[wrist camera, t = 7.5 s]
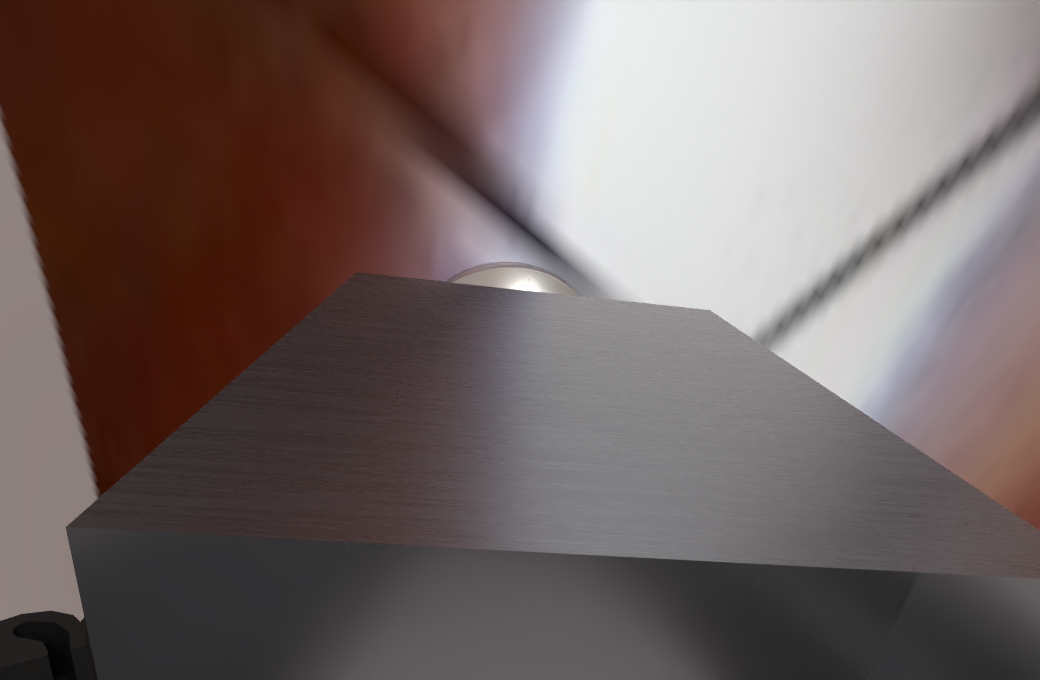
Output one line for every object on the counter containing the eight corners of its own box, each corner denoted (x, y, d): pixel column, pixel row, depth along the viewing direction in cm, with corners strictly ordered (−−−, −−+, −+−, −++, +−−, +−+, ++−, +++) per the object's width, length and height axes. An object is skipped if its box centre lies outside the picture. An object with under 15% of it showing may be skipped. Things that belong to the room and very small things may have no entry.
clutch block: (356, 272, 11) (66, 526, 3) (709, 310, 12) (1118, 582, 4) (350, 565, 13) (180, 1080, 6) (639, 579, 14) (811, 1045, 7)
